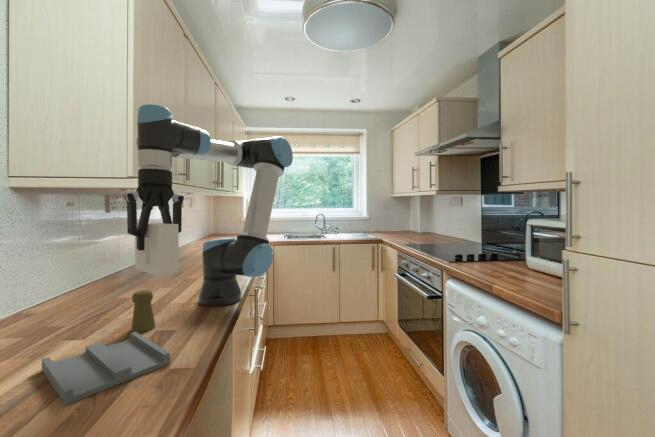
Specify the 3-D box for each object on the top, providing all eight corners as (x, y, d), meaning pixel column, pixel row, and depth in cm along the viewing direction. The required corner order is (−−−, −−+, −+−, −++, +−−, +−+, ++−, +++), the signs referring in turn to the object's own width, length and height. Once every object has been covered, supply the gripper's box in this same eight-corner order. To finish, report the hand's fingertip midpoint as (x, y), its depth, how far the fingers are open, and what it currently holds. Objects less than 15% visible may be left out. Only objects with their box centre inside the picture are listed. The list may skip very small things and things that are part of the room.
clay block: (153, 266, 84) (153, 222, 84) (178, 273, 76) (178, 224, 75) (135, 268, 81) (134, 222, 80) (159, 276, 72) (159, 224, 72)
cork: (150, 322, 94) (149, 287, 94) (159, 327, 90) (158, 290, 90) (128, 328, 90) (126, 291, 89) (136, 334, 86) (134, 295, 85)
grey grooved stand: (135, 340, 82) (135, 331, 81) (169, 363, 70) (169, 352, 70) (42, 370, 67) (41, 359, 67) (65, 405, 55) (64, 391, 55)
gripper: (182, 173, 87) (182, 256, 87) (109, 166, 73) (110, 265, 74) (196, 172, 82) (196, 259, 83) (121, 163, 68) (121, 268, 69)
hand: (156, 261), depth 78 cm, fingers closed on clay block, 4 cm apart
